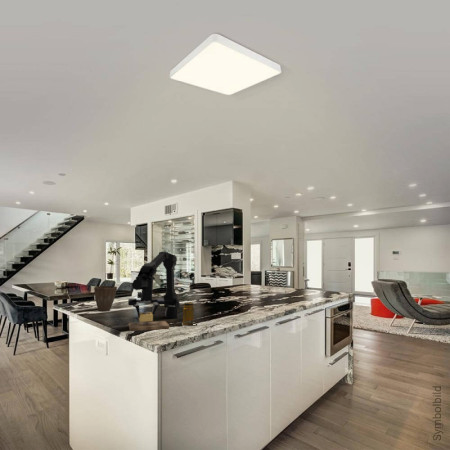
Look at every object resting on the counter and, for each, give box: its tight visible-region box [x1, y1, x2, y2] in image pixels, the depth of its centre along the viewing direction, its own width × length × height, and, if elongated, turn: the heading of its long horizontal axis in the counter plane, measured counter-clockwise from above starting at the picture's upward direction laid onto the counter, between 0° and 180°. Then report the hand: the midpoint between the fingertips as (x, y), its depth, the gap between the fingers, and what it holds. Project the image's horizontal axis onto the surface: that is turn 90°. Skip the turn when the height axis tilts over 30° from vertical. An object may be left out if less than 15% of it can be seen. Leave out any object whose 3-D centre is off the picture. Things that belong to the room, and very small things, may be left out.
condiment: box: [181, 302, 195, 327], centre depth 171 cm, size 7×8×12 cm
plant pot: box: [93, 285, 118, 312], centre depth 206 cm, size 15×15×16 cm
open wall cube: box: [138, 311, 154, 322], centre depth 160 cm, size 7×7×4 cm
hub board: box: [128, 310, 170, 332], centre depth 162 cm, size 20×12×8 cm, turn 111°
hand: (145, 317), depth 160 cm, fingers closed on open wall cube, 7 cm apart
